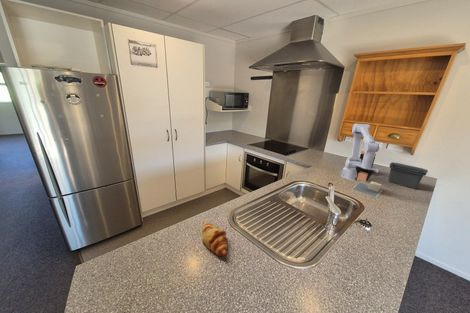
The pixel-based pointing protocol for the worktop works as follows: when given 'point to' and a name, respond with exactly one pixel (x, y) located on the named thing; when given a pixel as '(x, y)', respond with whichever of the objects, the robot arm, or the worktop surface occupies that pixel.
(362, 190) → the board
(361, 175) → the terracotta block
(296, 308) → the worktop surface
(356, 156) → the robot arm
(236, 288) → the worktop surface
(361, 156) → the coffee jar
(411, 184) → the storage bin
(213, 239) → the croissant
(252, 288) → the worktop surface
